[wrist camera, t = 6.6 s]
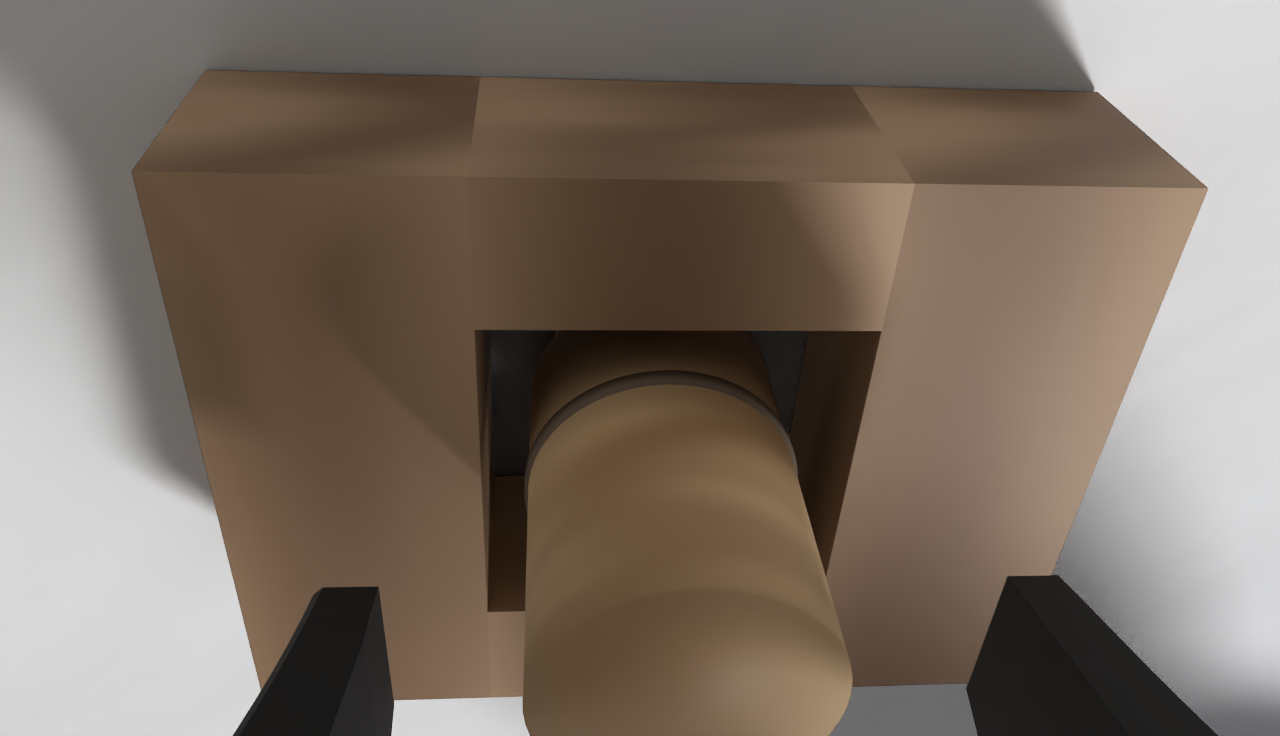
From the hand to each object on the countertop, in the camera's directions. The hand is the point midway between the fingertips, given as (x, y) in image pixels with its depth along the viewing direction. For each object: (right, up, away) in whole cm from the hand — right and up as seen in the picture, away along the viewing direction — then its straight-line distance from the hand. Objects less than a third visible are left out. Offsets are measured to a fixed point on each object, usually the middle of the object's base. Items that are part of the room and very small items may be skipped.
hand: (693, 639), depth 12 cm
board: (0, +3, +5) cm, 6 cm away
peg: (-1, +3, +5) cm, 6 cm away
